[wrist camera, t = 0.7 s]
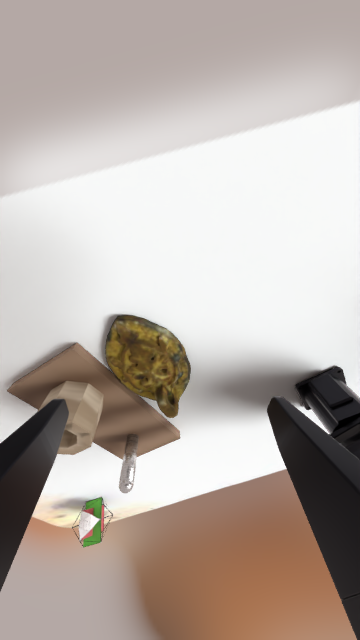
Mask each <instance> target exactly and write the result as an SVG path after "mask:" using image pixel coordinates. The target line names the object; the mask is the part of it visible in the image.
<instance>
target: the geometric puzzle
mask: <svg viewBox="0 0 360 640" xmlns="http://www.w3.org/2000/svg"><path fill="white" fill-rule="evenodd" d="M102 500H103V499H102V497H101V498H98V499H95V500H92V501H88V502H86V503H85V504H86V508H85V509H86V510H81V511H82V513H81V512H80V514H81V518H80V522H79V525H78V526H79V536H80V541H81V540H83V539H84V544H83V545H82V546H83V547H86V546H90V545H93V544H97V543H101V533H102V532H103V531H104V518H106V517H104V506H105V505H102ZM103 504H104V503H103ZM106 505H107V504H106ZM84 506H85V505H84ZM105 507H106V506H105ZM110 513H111V514H112V512H110ZM111 516H113V514H112V515H111ZM107 517H109V516H107ZM111 518H112V517H111ZM77 519H78V518H77ZM109 521H111V520H109ZM75 522H76V521H75ZM108 523H109V522H108ZM74 524H75V523H74ZM75 527H76V526H75ZM72 528H74V527H72ZM78 539H79V538H78Z"/></svg>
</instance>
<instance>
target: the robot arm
mask: <svg viewBox="0 0 360 640" xmlns="http://www.w3.org/2000/svg"><path fill="white" fill-rule="evenodd" d="M295 388H296V390H297V392H298V395H299V397H300V399H301V401H302V403H303V405H304V407H305V409H306V410H310V409H312V410H313V412H314V413H315V414H316V416H317V417H318V418H319V420H320V421H321V423H322V424H323V425H324V427H325V428H326V429H327V431H328V432H329V433H330V434H327V433H326V432H325V431H324V430H323V429H321V428H320V427H319V426H318V425H316V424H315V423H314V422H313V421H312V420H310V419H309V418H308V417H307V416H305V415H304V414H303V413H302V412H301V411H299V410H298V409H297V408H296V407H294V406H293V405H292V404H291V403H290V402H288V401H287V400H286V399H285V398H283V397H280V396H278V397H272V399H271V401H270V403H269V405H268V408H267V413H268V416H269V420H270V423H271V426H272V429H273V433H274V436H275V439H276V442H277V445H278V448H279V451H280V453H281V456H282V458H283V461H284V463H285V466H286V468H287V470H288V473H289V475H290V478H291V480H292V482H293V485H294V487H295V490H296V492H297V495H298V497H299V499H300V502H301V504H302V507H303V509H304V511H305V514H306V516H307V519H308V521H309V524H310V526H311V528H312V531H313V533H314V536H315V538H316V541H317V543H318V545H319V548H320V550H321V552H322V555H323V557H324V560H325V562H326V565H327V567H328V569H329V572H330V574H331V577H332V579H333V582H334V584H335V587H336V589H337V591H338V594H339V596H340V598H341V599H342V600H341V601H342V604H343V606H344V609H345V611H346V613H347V616H348V618H349V621H350V623H351V626H352V628H353V631H354V633H355V635H356V638H357V640H360V398H359V397H358V396H357V395H356V394H355V393H354V392H353V391H352V390H351V389H350V388H349V387H348V386H347V385H346V381H345V377H344V373H343V370H342V369H341V368H340V367H336V368H334V369H332V370H329V371H327V372H325V373H322V374H320V375H318V376H315V377H313V378H311V379H309V380H306V381H304V382H302V383H299V384H297V385H296V386H295ZM68 416H69V410H68V407H67V404H66V401H65V399H53V400H51V401H50V402H49V403H48V404H46V405H45V406H44V407H43V408H42V409H41V410H39V411H38V412H37V413H36V414H35V415H33V416H32V417H31V418H30V419H29V420H28V421H26V422H25V423H24V424H23V425H22V426H20V427H19V428H18V429H17V430H16V431H15V432H13V433H12V434H11V435H10V436H9V437H8V438H6V439H5V440H4V441H3V442H2V443H0V591H1V589H2V586H3V584H4V581H5V579H6V576H7V574H8V572H9V569H10V567H11V564H12V562H13V560H14V557H15V555H16V553H17V550H18V548H19V545H20V543H21V540H22V538H23V536H24V533H25V531H26V528H27V526H28V524H29V521H30V519H31V516H32V514H33V512H34V509H35V507H36V504H37V502H38V500H39V497H40V495H41V492H42V490H43V487H44V485H45V483H46V480H47V478H48V475H49V473H50V471H51V468H52V466H53V463H54V461H55V458H56V455H57V452H58V449H59V446H60V443H61V439H62V436H63V433H64V430H65V426H66V423H67V420H68Z"/></svg>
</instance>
